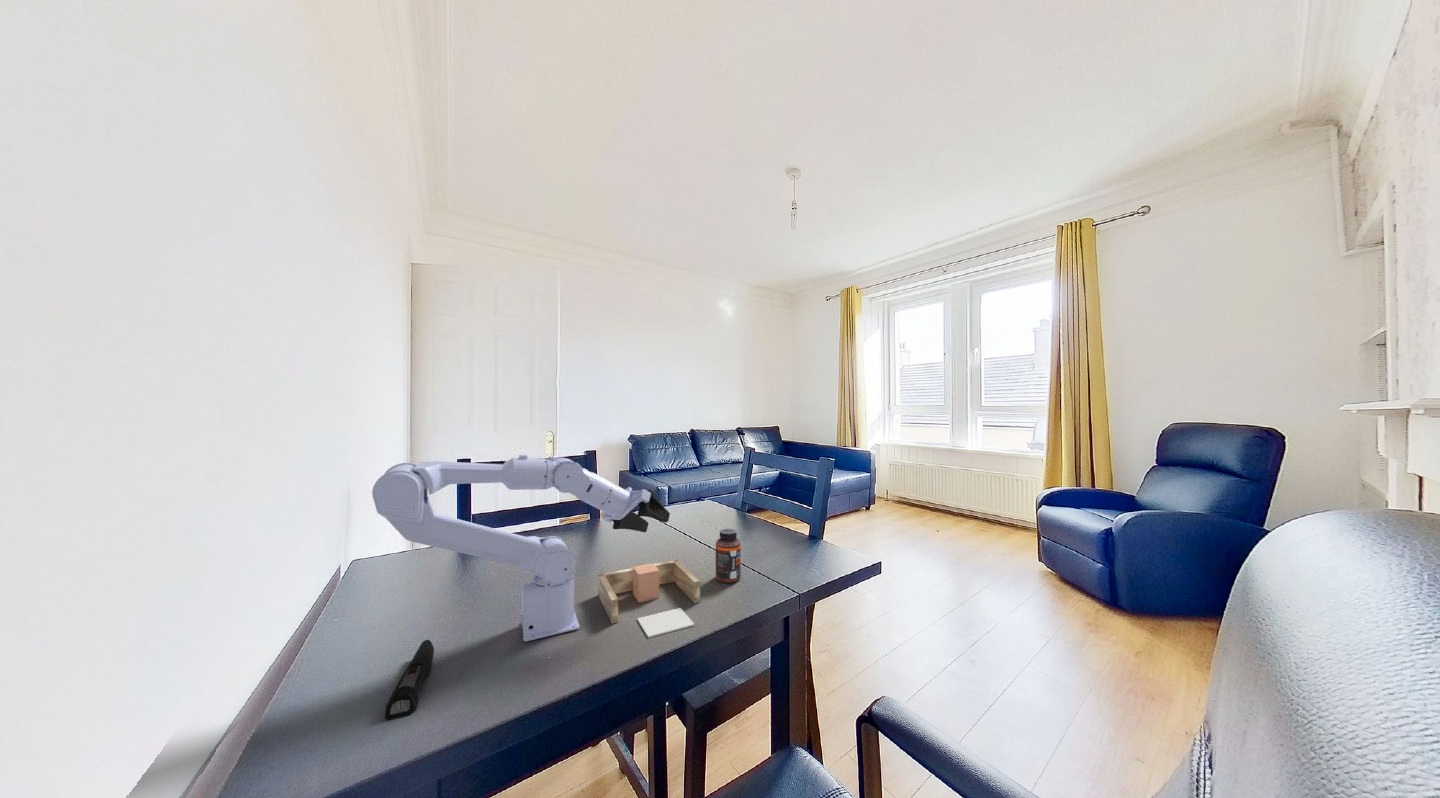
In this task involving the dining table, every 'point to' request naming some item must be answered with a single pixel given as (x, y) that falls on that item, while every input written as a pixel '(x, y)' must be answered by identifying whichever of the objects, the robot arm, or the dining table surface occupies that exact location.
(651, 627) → the pad
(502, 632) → the dining table surface
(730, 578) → the supplement bottle
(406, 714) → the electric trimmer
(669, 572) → the wooden u-shaped frame
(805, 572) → the dining table surface
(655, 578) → the block
